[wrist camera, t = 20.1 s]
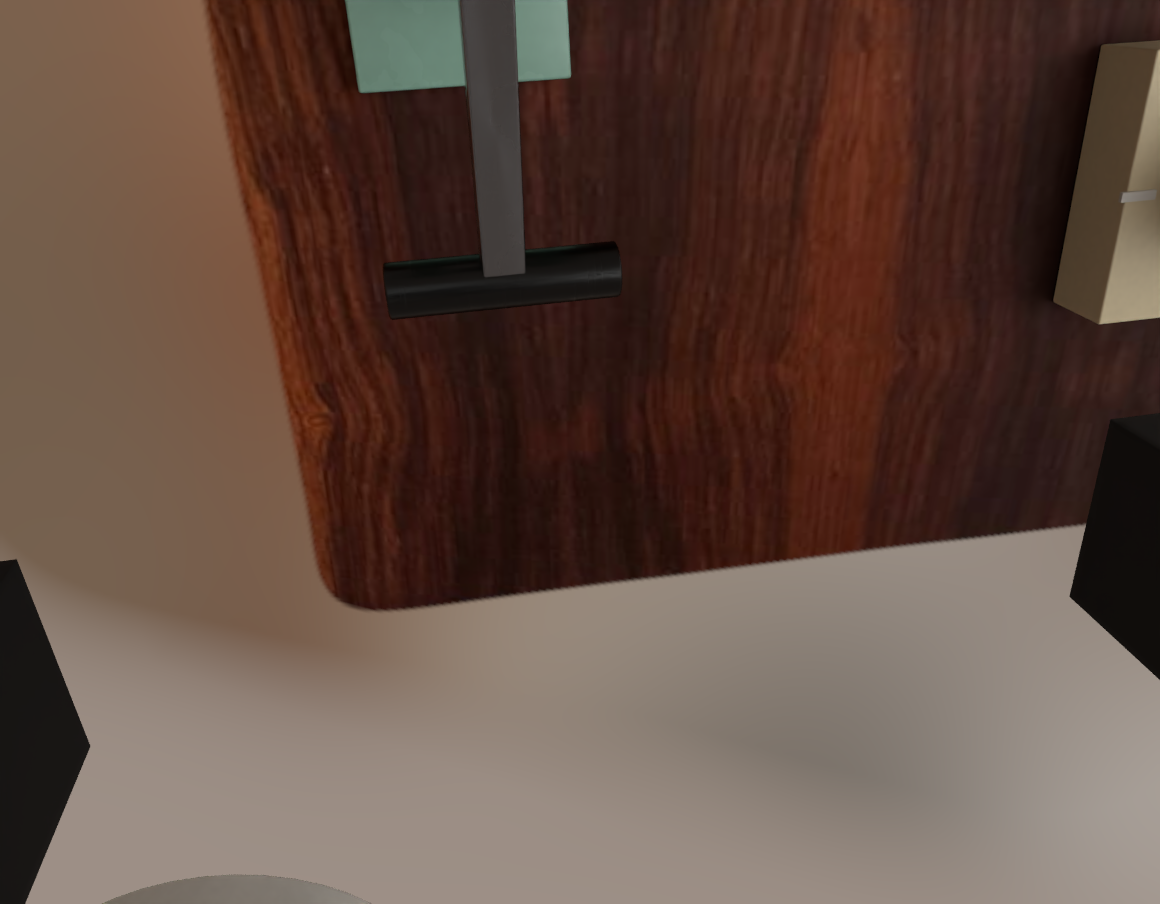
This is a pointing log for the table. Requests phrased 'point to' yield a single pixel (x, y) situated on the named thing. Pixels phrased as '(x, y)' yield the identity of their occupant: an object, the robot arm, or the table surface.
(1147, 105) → the dial panel
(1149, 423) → the robot arm
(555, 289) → the lever handle
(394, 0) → the green lever stand
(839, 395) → the table surface
